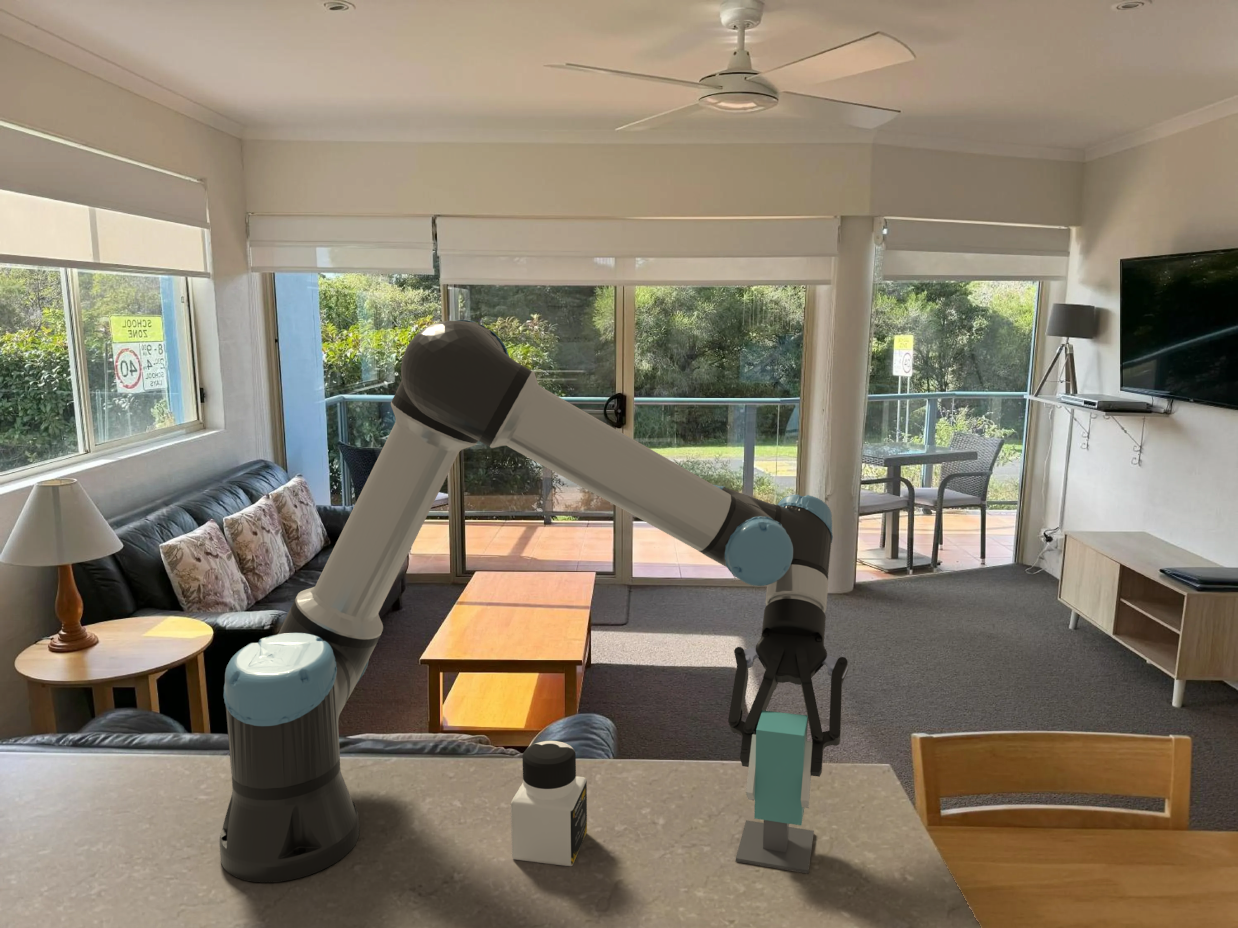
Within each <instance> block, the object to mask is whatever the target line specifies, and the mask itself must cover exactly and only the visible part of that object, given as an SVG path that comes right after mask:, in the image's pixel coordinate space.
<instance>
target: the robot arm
mask: <svg viewBox="0 0 1238 928" xmlns="http://www.w3.org/2000/svg"><path fill="white" fill-rule="evenodd" d="M401 359H402V360H401V368H400V373H401V381H400V383H399V385H398V387H397V389H396V391H395V394H394V395H393V397H392V400H391V401H390V407H391V410H392V411H393V415H394V418H395V422H394V424H393V426H392V429H390V430H391V431H390V433H389V435H388V437H387V439H386V441H385V443H384V445H383V447H382V449H381V451H380V452H379V455H378V457H377V460H376V461H375V463H374V465H373V467H372V469H371V471H370V474H369V475H368V477H367V480H366V482H365V484H364V485H363V487H362V490H361V492H360V494H359V496H358V498H357V500H356V502H355V505H353V508H352V510H351V513H350V514H349V517H348V519H347V521H346V523H345V524H344V526H343V527H342V531H341V533H340V534H339V537H338V539H337V541H336V542H335V545H334V547H333V548H332V551H331V553H330V555H329V557H328V559H327V561H326V563H325V565H324V567H323V570H322V572H321V573H320V575H319V577H318V580H317V581H316V584H315V586H313V587H310V588H307V589H304V590H301V591H300V592H298V593H297V595H296V597H295V599H294V600H293V603H292V605H291V606H290V608H289V611H288V613H287V615H286V617H285V619H284V621H283V623H282V625H281V626H280V629H279V631H278V633H277V634H273V635H269V636H266V637H262V638H260V639H259V640H258V642H250V643H248V644H247V645H246V646H244V647H242V648H241V649H239V650H238V651H236V653H235V654H234V655H232V657H231V658H230V660H229V662H228V664H227V665H226V668H225V672H224V685H223V695H222V696H223V699H224V701H223V702H224V704H225V712H226V713H225V714H226V722H227V723H226V725H227V727H226V728H227V739H228V747H229V749H228V750H229V761H230V762H229V763H230V774H231V786H232V788H231V789H232V791H231V795H230V800H229V802H228V806H227V809H226V810H227V811H226V813H225V816H224V820H223V821H224V822H223V824H222V828H221V832H220V835H219V841H218V842H219V856H220V857H219V859H220V863H221V865H222V867H223V869H224V870H225V871H226V872H227V873H228V874H230V875H231V876H233V877H235V878H237V879H240V880H244V881H248V882H252V883H253V882H254V883H255V882H256V883H279V882H287V881H292V880H296V879H301V878H303V877H307V876H310V875H312V874H313V875H314V874H315V873H318V872H320V871H323V870H325V869H327V868H329V867H331V866H332V865H334V864H335V863H337V862H339V861H341V860H342V859H343V858H344V857H345V856H347V855H348V854H349V853H350V852H351V851H352V849H353V848H354V847H355V845H356V843H357V842H358V839H359V837H360V819H359V817H360V816H359V812H358V808H357V806H356V805H355V803H354V801H353V800H352V797H351V795H350V792H349V790H348V787H347V784H346V782H345V778H344V777H343V774H342V771H341V770H342V769H341V758H340V757H341V754H340V752H341V751H340V738H339V736H340V735H339V718H340V715H341V713H342V711H343V709H344V707H345V705H346V704H347V701H348V699H349V698H350V696H351V694H352V693H353V691H354V688H355V687H356V685H357V684H358V683H359V681H360V680H361V679H362V677H363V676H364V674H365V672H366V669H367V668H368V665H369V659H370V657H371V655H372V653H373V651H374V649H375V647H376V646H377V643H378V642H379V639H380V638H381V635H382V632H383V630H384V625H383V621H382V620H381V618H380V615H379V613H380V611H381V609H382V607H383V605H384V603H385V600H386V598H387V597H388V595H389V593H390V591H391V589H392V587H393V585H394V583H395V580H396V579H397V577H398V575H399V573H400V571H401V569H402V566H403V565H404V563H405V561H406V559H407V556H408V555H409V553H410V551H411V549H412V547H413V545H414V543H415V541H416V539H417V537H418V534H420V531H421V529H422V527H423V525H424V523H425V520H426V518H427V517H428V514H429V513H430V511H431V509H432V507H433V504H434V503H435V501H436V499H437V497H438V495H439V493H440V491H441V489H442V487H443V485H444V483H445V481H446V479H447V477H448V474H449V473H450V471H451V469H452V467H453V464H454V463H455V460H456V458H457V457H458V455H459V453H460V451H463V450H465V449H468V448H471V447H474V446H477V444H478V442H480V443H482V444H484V445H485V446H487V447H490V448H491V449H494V448H498V447H502V446H503V447H504V446H507V447H508V448H510V449H512V450H513V451H515V452H517V453H519V454H520V455H523V456H525V457H527V458H528V459H530V460H532V461H534V462H536V463H538V464H539V465H541V466H543V467H545V468H547V469H548V470H550V471H551V472H554V473H555V474H558V475H559V476H561V477H563V478H565V479H566V480H568V481H570V482H572V483H573V484H576V485H577V486H579V487H581V488H584V489H585V490H587V491H588V492H590V493H592V494H594V495H596V496H598V497H599V498H602V499H603V500H605V501H607V502H608V503H611V504H613V505H615V506H616V507H618V508H619V509H622V510H623V511H625V512H627V513H629V514H631V516H632V515H633V516H634V517H636V518H638V519H640V520H641V521H643V522H644V523H645V522H646V523H647V524H649V525H651V526H652V527H654V528H655V529H658V530H660V531H662V532H663V533H665V534H667V535H669V536H671V537H672V538H674V539H676V540H678V541H680V542H681V543H683V544H685V545H687V546H689V547H690V548H692V549H693V550H697V552H699V553H701V554H703V555H704V556H706V557H708V558H709V559H711V560H713V561H715V562H716V563H719V564H720V565H722V566H723V567H724V568H725V567H726V568H727V569H728V571H729V572H730V573H731V574H732V576H734V577H735V578H737V579H739V581H741V582H743V583H745V584H747V585H750V586H754V587H763V586H766V593H765V608H764V611H763V620H762V626H761V627H762V628H761V636H760V639H759V640H758V642H757V643H756V645H755V647H750V648H746V649H744V648H743V647H741V646H737V647H735V649H734V650H733V653H734V658H735V662H736V670H735V675H734V676H735V677H734V681H733V687H732V696H731V699H730V700H731V701H730V707H729V713H728V722H727V723H728V725H729V729H730V732H731V733H733V734H738V735H739V736H741V737H742V740H741V746H740V754H739V759H740V763H741V766H742V767H745V768H746V767H747V775H746V776H747V777H746V779H747V780H746V787H745V795H746V798H747V800H750V801H751V800H752V801H755V768H756V766H755V765H756V729H757V726H758V722H759V719H760V716H761V713H762V710H764V711H767V709H768V707H769V704H770V702H771V699H772V697H773V695H774V691H776V689H777V687H778V684H779V683H780V684H781V683H782V684H784V683H790V684H794V685H797V686H800V687H801V691H802V692H801V693H802V696H803V701H804V706H805V707H804V708H805V711H806V715H807V716H808V726H809V731H810V736H811V740H810V741H809V740H807V741H805V754H804V766H803V778H802V790H801V805H802V807H804V809H809V808H810V799H811V798H810V797H811V782H812V777H817V778H819V777H821V775H822V773H823V761H824V760H823V759H824V750H825V749H826V748H827V747H830V746H834V747H836V746H838V745H840V744H841V732H842V731H841V730H842V727H841V726H842V703H843V702H842V700H843V699H842V698H843V695H842V694H843V692H842V691H843V683H844V680H845V679H846V675H847V674H848V672H849V669H848V668H849V665H848V664H849V663H848V659H847V658H846V657H844V656H840V657H838V658H837V657H835V656H833V655H830V654H828V653H827V652H828V651H827V649H826V647H825V636H826V635H825V633H826V632H825V631H826V619H827V618H826V612H827V607H828V606H827V605H828V593H829V571H830V561H831V560H830V559H831V552H832V551H831V549H832V543H833V538H834V537H833V535H834V534H833V515H832V511H831V508H830V507H829V505H828V504H827V503H825V502H824V501H823V500H822V499H821V498H818V497H816V496H813V495H810V494H807V495H806V494H805V495H800V494H791V495H788V496H785V497H783V498H782V499H781V500H780V501H779V502H778V503H777V504H774V503H770V502H768V501H765V500H762V499H759V498H755V497H753V496H750V495H747V494H744V493H741V492H739V491H736V490H732V489H730V488H727V487H726V486H725V485H717V484H713V483H711V482H709V481H707V480H706V479H704V478H702V477H700V476H699V475H697V474H696V473H693V472H692V471H690V470H689V469H686V468H684V467H683V466H681V465H679V464H677V462H674V461H672V460H670V459H669V458H667V457H665V456H664V455H662V454H660V453H658V452H657V451H655V450H653V449H651V448H649V447H648V446H646V445H644V444H642V443H641V442H639V441H637V440H635V439H634V438H632V437H630V436H628V435H627V434H625V433H623V432H621V431H620V430H617V428H614V427H613V426H611V425H609V424H607V423H605V422H604V421H602V420H600V419H598V418H597V417H595V416H593V415H591V414H589V413H588V412H586V411H584V410H582V409H580V408H579V407H577V406H575V405H574V404H572V403H570V402H569V401H567V400H566V399H563V398H562V397H559V396H558V395H556V394H554V393H553V392H551V391H549V390H547V389H546V388H544V387H542V386H541V385H540V384H539V383H538V379H537V376H536V373H535V371H533V370H531V369H529V368H528V367H525V365H522V364H520V363H519V362H517V361H516V360H514V359H513V358H511V356H510V355H509V351H508V350H507V347H506V345H505V343H504V342H503V341H502V340H501V337H499V336H498V335H497V334H496V332H494V331H492V330H491V329H489V328H488V327H486V326H485V325H484V324H480V323H479V322H476V321H473V320H469V319H453V320H443V321H438V322H435V323H432V324H429V325H428V326H426V327H424V328H423V329H422V330H420V331H419V332H418V333H417V334H416V335H415V336H414V337H413V338H412V339H411V340H410V342H409V343H408V344H407V346H406V348H405V351H404V354H403V356H402V358H401ZM756 659H758V660H759V661H760V663H761V665H762V666H763V669H764V670H765V671H764V673H763V677H762V681H761V683H760V685H759V688H758V689H757V692H756V695H755V697H754V700H753V702H752V705H751V707H750V710H749V712H748V714H747V717H746V720H745V721H743V716H744V709H745V702H746V697H747V689H748V682H749V668H752V667H753V666H754V664H755V660H756ZM823 666H826V667H827V675H829V676H830V677H831V678H830V697H829V698H830V699H829V700H830V702H829V724H828V726H829V727H828V728H829V729H828V730H825V731H823V730H822V729H823V728H822V724H821V719H820V714H819V709H818V705H817V700H816V695H815V692H814V691H815V690H814V684H813V680H812V679H813V678H814V676H815V675H816V674H817V673H818V672H819V671H820V670H821V669H822V667H823Z"/></svg>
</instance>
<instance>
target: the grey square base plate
mask: <svg viewBox="0 0 1238 928" xmlns="http://www.w3.org/2000/svg"><path fill="white" fill-rule="evenodd" d="M814 833H815V832H814V830H812V829H807V828H805V829H804V828H800V827H799V828H798V827H793V826H790V824H787V823H781V822H774V821H768V820H763V822H762V821H761V822H760V821H754V820H749V819H748V820H747V819H745V823H744V827H743V831H742V833H741V837H740V841H739V845H738V847H737V852H736V855H735V862H737V863H743V864H748V865H755V866H761V867H766V868H767V867H768V868H771V869H772V868H774V869H779V870H786V871H791V872H797V873H800V874H801V873H802V874H809V871H810V866H811V864H810V863H811V859H812V857H811V856H812V851H813V850H812V849H813V842H814V835H815V834H814Z"/></svg>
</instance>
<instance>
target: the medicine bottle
mask: <svg viewBox="0 0 1238 928" xmlns="http://www.w3.org/2000/svg"><path fill="white" fill-rule="evenodd" d="M576 756H577V755H576V751H575V749H574V748H573V747H572V746H571V745H570V744H567V743H566V742H562V741H556V740H544V741H540V742H536V743H533V744H531V745H530V746H528V747H526V749H525V750H524V752H523V753H522V783H521V785H520V786H519V788H518V789H517V791H516V793H515V795H514V796H513V798H512V799H511V802H510V822H511V823H510V826H511V827H510V828H511V829H510V831H511V833H510V834H511V858H512V859H513V860H515V861H516V860H517V861H524V862H530V863H538V864H539V863H540V864H549V865H555V866H556V865H557V866H563V867H572V866H573V865H574V864H575V860H576V858H577V855H578V854H579V851H580V849H581V846H582V844H583V842H584V840H585V838H586V835H587V833H588V811H587V810H588V807H587V805H588V799H587V798H588V797H587V796H588V795H587V794H588V793H587V792H588V790H587V789H588V788H587V786H588V785H587V778H586V777H584V776H577V763H576V762H577V761H576V759H577V757H576Z"/></svg>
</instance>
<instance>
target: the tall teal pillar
mask: <svg viewBox="0 0 1238 928" xmlns="http://www.w3.org/2000/svg"><path fill="white" fill-rule="evenodd" d="M808 726H809V722H808V716H807V714H806V715H805V714H799V713H791V712H790V713H788V712H779V711H773V710H772V711H770V710H766V711H764V710H762V713H761V716H760V719H759V722H758V726H757V729H756V765H755V766H756V768H755V800H754V817H753V819H756V820H762V821H764V820H768V821H774V822H781V823H787V824H789V825H794V826H803V825H802V824H803V817H804V812H805V808H804V807H802V805H801V790H802V778H803V766H804V754H805V741H808Z"/></svg>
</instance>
